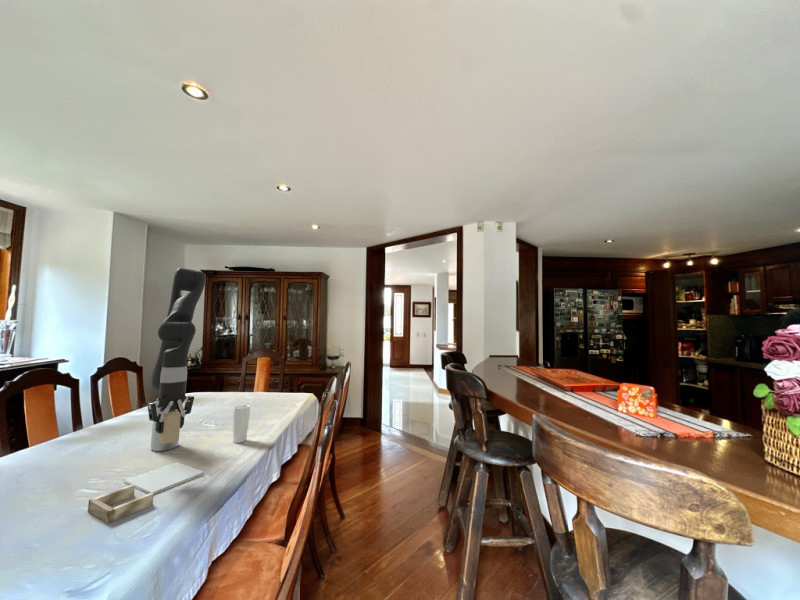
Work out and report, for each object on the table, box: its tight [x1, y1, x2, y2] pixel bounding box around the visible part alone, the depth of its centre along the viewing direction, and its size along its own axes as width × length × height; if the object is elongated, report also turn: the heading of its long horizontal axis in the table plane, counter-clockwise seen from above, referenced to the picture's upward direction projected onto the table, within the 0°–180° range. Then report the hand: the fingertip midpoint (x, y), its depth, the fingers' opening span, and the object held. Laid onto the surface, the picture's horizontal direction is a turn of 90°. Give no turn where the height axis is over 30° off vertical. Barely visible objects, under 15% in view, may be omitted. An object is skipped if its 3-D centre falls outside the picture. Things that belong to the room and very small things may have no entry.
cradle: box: [87, 484, 155, 524], centre depth 90 cm, size 10×11×3 cm
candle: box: [159, 410, 181, 444], centre depth 109 cm, size 6×6×10 cm
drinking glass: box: [232, 404, 251, 444], centre depth 144 cm, size 7×7×15 cm
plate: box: [123, 461, 205, 495], centre depth 108 cm, size 16×16×1 cm
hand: (169, 430), depth 109 cm, fingers closed on candle, 5 cm apart
